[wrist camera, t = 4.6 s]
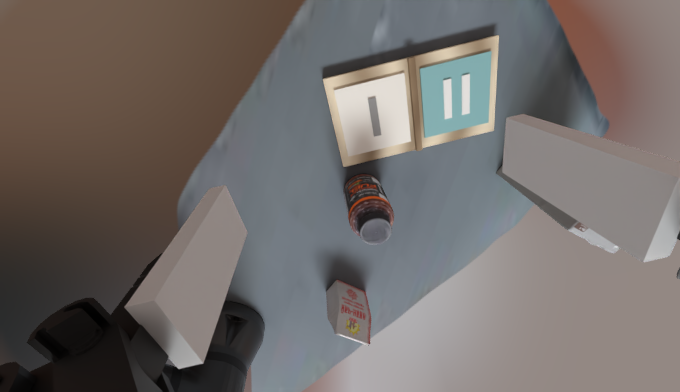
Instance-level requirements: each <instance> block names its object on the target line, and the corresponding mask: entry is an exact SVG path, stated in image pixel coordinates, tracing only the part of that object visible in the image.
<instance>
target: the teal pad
mask: <svg viewBox="0 0 680 392" xmlns="http://www.w3.org/2000/svg"><path fill="white" fill-rule="evenodd" d="M491 53H492V51H488V52H484V53H480V54H476V55H472V56H468V57H464V58H460V59H456V60H452V61H448V62H444V63H440V64H436V65H432V66H428V67H424V68H420V69H419V72H420V86H421V99H422V113H423V126H424V138H427V137H431V136H435V135H439V134H443V133H448V132H452V131H456V130H460V129H464V128H468V127H472V126H476V125H480V124H484V123H489V100H490V77H491Z"/></svg>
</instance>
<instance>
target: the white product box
mask: <svg viewBox="0 0 680 392" xmlns="http://www.w3.org/2000/svg"><path fill="white" fill-rule="evenodd" d="M326 298H327V314H328V320H329V321H330V323H331V325H332V327H333V329H334V332H335V334H337V335H340V336H342V337H345V338H348V339H351V340H354V341H357V342H360V343H363V344H365V345H368V344H370V327H371V314H370V310H369V305H368V301H367V296H366V292H365V291H363V290H360V289H358V288H356V287H353V286H351V285H349V284H346V283H344V282H342V281H339V280H336V281H335V282H334V283H333V284H332V286H331V287H330V288H329V289H328V290H327V292H326Z"/></svg>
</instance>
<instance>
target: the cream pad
mask: <svg viewBox="0 0 680 392" xmlns="http://www.w3.org/2000/svg"><path fill="white" fill-rule="evenodd" d="M334 94H335V98H336V103H337V107H338V112H339V117H340V121H341V126H342V130H343V135H344V139H345V144H346V148H347V153H348V157H349V156H353V155H357V154H362V153H366V152H370V151H374V150H378V149H382V148H386V147H390V146H394V145H398V144H402V143H407V142H411V136H410V125H409V115H408V105H407V95H406V85H405V75H404V73H400V74H396V75H392V76H388V77H384V78H380V79H376V80H372V81H368V82H364V83H360V84H356V85H352V86H348V87H344V88H340V89H336V90H334Z"/></svg>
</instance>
